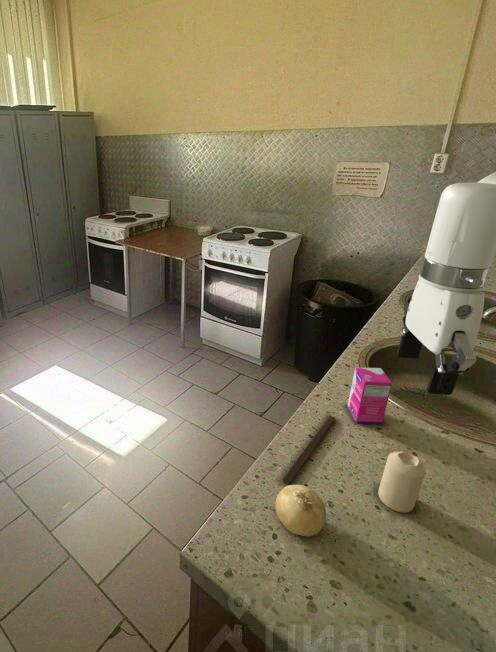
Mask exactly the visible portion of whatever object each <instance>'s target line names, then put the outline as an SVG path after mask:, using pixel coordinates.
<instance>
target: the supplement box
mask: <svg viewBox="0 0 496 652" xmlns="http://www.w3.org/2000/svg"><path fill="white" fill-rule="evenodd" d="M392 386H393V383H392V381H391V379H389V377H388V376H387V374H386V373H385V372H384V370H383V369H382V368H381V367H357V366H356V367H354V373H353V376H352V382H351V387H350V391H349V395H348V396H349V397H348V402H347V408H348V410H349V411H350V413H351V415H352V417H353V419H354V421H355V423H357V424H369V425H370V424H371V425H383V422H384V418H385V413H386V410H387V407H388V401H389V397H390V393H391V390H392Z"/></svg>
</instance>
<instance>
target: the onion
mask: <svg viewBox="0 0 496 652" xmlns="http://www.w3.org/2000/svg"><path fill="white" fill-rule="evenodd" d="M279 491H280V492H279V493H278V494H277V496H276V499H275V505H274V507H275V512H276V514H277V518H278V519H279V521H280V522H281V523H282V525H283V526H284V527H285V528H286V529H287V530H288V531H289V532H290V533H292V534H294V535H297V536H302V537H312V536H315V535H317V534H318V533H320V531H322V529H323V527H324V526H325V524H326V517H327V509H326V506H325V504H324V501H323V500H322V498H321V497H320V496H319V494H318V493H317V492H316V491H315V490H313V489H312V488H311V487H308V486H305V485H302V484H289V485H286V486H284V487H283V488H282V489H281V490H279Z"/></svg>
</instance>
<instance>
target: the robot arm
mask: <svg viewBox="0 0 496 652" xmlns="http://www.w3.org/2000/svg"><path fill="white" fill-rule="evenodd" d="M495 257H496V171H495V172H492V173H491V174H489V175H487V176H485V177H483V178H481V179H480V180H478V181H477V182H455V183H452V184H449V185H447V186H446V187H445V188H444V190H443V191H442V192H441V195H440V198H439V201H438V204H437V209H436V213H435V216H434V219H433V222H432V227H431V231H430V234H429V239H428V242H427V245H426V250H425V253H424V256H423V259H422V263H421V267H420V270H419V274H418V280H417V283H416V286H415V287H414V290H413V293H412V295H411V298H410V301H409V303H404V305H403V308H404V309H403V315H404V316H402V323H403V327H402V328H401V330H400V331H401V337H400V341H399V345H398V347H397V352H396V356H397V357H398V358H400V359H418V358H419V357H420V353H421V350H422V348H423V346H424V347H426V348H427V350H429V351H430V352H431V353H433V354H434V357H435V364H436V368H432V371H431V373H430V377H429V380H428V382H427V383H428V384H427V386H426V392H427V393H428V394H431V395H443V396H450V395H452V394H453V393H454V389H455V387H456V385H457V381H458V378H459V375H463V374H464V373H466V372H468V371H469V370H470V368H471V367H472V366H473V365H474V364H475V363H476V362H477V356H476V354H475V352H474V348H475V345H476V341H477V338H478V334H479V331H480V327H481V323H482V318H483V313H484V309H485V308H484V307H485V296H486V295H485V294H486V293H485V292H484V289H485V286H486V284H487V280H488V278H489V276H490V275H489V274H490V272H491V269H492V266H493V262H494V260H495ZM446 348H451V350H445V349H446ZM446 357H451V360H452V361H450V362H447V363H446V359H445V358H446Z"/></svg>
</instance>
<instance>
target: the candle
mask: <svg viewBox="0 0 496 652" xmlns="http://www.w3.org/2000/svg"><path fill="white" fill-rule="evenodd" d="M426 473H427V469H426V467H425V465H424V463H423V462H422V460H420V459H419V458H418V457H417V456H416V455H413V454H412V453H410V452H409V451H408V450H403V451H391V452H390V453H389V454H388V456H387V459H386V463H385V466H384V469H383V473H382V477H381V480H380V484H379V487H378V497H379V499H380V501H381V502H382V503H383V504H384V505H385V506H386V507H387V508H389V509H391V510H393V511H395V512H398V513H403V514H404V513H405V514H406V513H410V512H412V511H413V510H414V507H415V505H416V502H417V499H418V497H419V493H420V490H421V488H422V484H423V481H424V479H425V476H426Z"/></svg>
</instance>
